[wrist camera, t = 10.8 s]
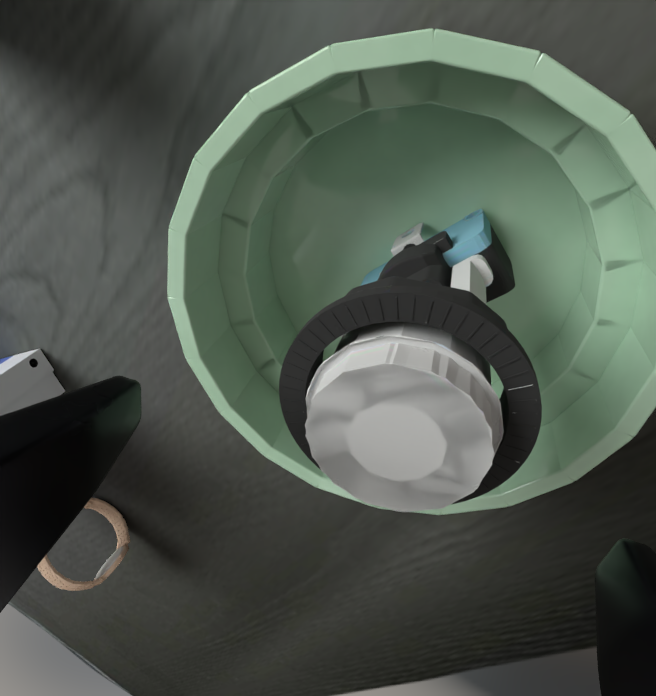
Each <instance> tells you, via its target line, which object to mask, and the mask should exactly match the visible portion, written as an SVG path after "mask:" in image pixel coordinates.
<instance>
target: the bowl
mask: <svg viewBox="0 0 656 696" xmlns="http://www.w3.org/2000/svg"><path fill="white" fill-rule="evenodd" d="M479 209H483V211H484V213H485V215H486V217H487V219H488V220H489V222H490V224H491V226H492V228H493V229H494V231H495V233H496V235H497V237H498V238H499V240H500V242H501V244H502V246H503V248H504V249H505V251H506V253H507V255H508V257H509V258H510V260H511V263H512V269H513V274H514V280H515V287H514V288H513V289H512V290H511V291H510V292H508V293H506V294H504V295H502V296H500V297H498V298H496V299H494V300H492V301H490V302H487V306H488V307H490V308H491V309H492V310H493V311H494V312H495V313H497V314H498V315H499V316H500V317H501V318H502V319H503V320H504V321H505V323H506V325H507V328H508V330H509V331H510V332H511V333H512V334H513V335H514V336H515V337H516V339H517V340H518V341H519V343H520V344H521V345H522V347H523V348H524V350H525V352H526V353H527V355H528V357H529V359H530V361H531V363H532V365H533V368H534V370H535V373H536V377H537V381H538V385H539V390H540V395H541V404H542V419H541V426H540V431H539V434H538V437H537V441H536V443H535V445H534V447H533V449H532V452H531V453H530V455H529V456H528V458H527V459H526V461H525V462H524V464H523V465H522V466H521V467H520V468H519V470H518V471H517V472H516V473H515V474H513V475H512V476H511V477H510V478H509V479H508V480H507V481H505V482H504V483H502V484H501V485H500V486H498V487H496V488H495V489H493V490H491V491H490V492H488V493H485V494H483V495H481V496H479V497H476V498H473V499H470V500H468V501H464V502H460V503H456V504H450V505H448V506H446V507H444V508H442V509H433V510H422V511H411V512H415V513H424V514H434V515H441V514H442V515H446V514H455V513H463V512H471V511H480V510H488V509H497V508H505V507H508V506H513V505H515V504H518V503H521V502H523V501H526V500H529V499H531V498H534V497H536V496H539V495H542V494H544V493H547V492H550V491H552V490H555V489H557V488H560V487H563V486H565V485H568V484H571V483H573V482H574V481H577V480H578V479H579V478H581V477H582V476H583V475H585V474H586V473H587V472H589V471H590V470H591V469H593V468H594V467H596V466H597V465H598V464H600V463H601V462H602V461H604V460H605V459H606V458H608V457H609V456H610V455H612V454H613V453H614V452H616V451H617V450H618V449H620V448H621V447H622V446H624V445H625V444H627V443H628V442H629V441H631V440H632V439H633V437H635V436H636V435H637V433H638V432H639V431H640V429H641V428H642V426H643V425H644V423H645V422H646V421H647V419H648V418H649V416H650V415H651V414H652V412H653V411H654V409H655V408H656V148H655V147H654V145H653V144H652V142H651V141H650V139H649V137H648V136H647V134H646V133H645V131H644V130H643V128H642V127H641V125H640V123H639V122H638V120H637V119H636V117H635V116H634V115H633V114H631V113H630V111H629V110H628V109H626V108H625V107H623V106H622V105H620V104H619V103H617V102H616V101H615V100H613V99H612V98H610V97H609V96H607V95H606V94H604V93H603V92H601V91H600V90H598V89H597V88H595V87H594V86H593V85H591V84H590V83H588V82H587V81H585V80H584V79H582V78H581V77H579V76H578V75H576V74H575V73H573V72H572V71H571V70H569V69H568V68H566V67H565V66H563V65H562V64H560V63H559V62H557V61H556V60H554V59H553V58H551V57H550V56H549V55H547V54H546V53H541V52H540V51H539V50H534V49H529V48H525V47H520V46H516V45H511V44H507V43H502V42H497V41H493V40H488V39H484V38H479V37H475V36H470V35H465V34H461V33H456V32H452V31H447V30H443V29H433V28H429V29H423V30H417V31H410V32H404V33H397V34H391V35H384V36H378V37H372V38H365V39H359V40H352V41H346V42H339V43H333V44H331V46H326V47H324V48H323V49H321V50H319V51H317V52H315V53H314V54H312V55H310V56H308V57H307V58H305V59H303V60H301V61H300V62H298V63H296V64H294V65H293V66H291V67H289V68H287V69H286V70H284V71H282V72H280V73H279V74H277V75H275V76H273V77H272V78H270V79H268V80H266V81H265V82H263V83H261V84H259V85H258V86H256V87H254V88H252V89H251V90H250V91H249V92H248V93H246V94H245V95H244V96H243V97H242V99H241V100H240V101H239V102H238V104H237V105H236V106H235V107H234V108H233V110H232V111H231V112H230V113H229V114H228V116H227V117H226V118H225V119H224V120H223V122H222V123H221V124H220V125H219V126H218V128H217V129H216V130H215V131H214V132H213V134H212V135H211V136H210V137H209V138H208V140H207V141H206V142H205V143H204V145H203V146H202V147H201V148H200V149H199V151H198V152H197V153H196V154H195V157H194V158H193V160H192V163H191V166H190V168H189V171H188V174H187V177H186V180H185V183H184V185H183V188H182V191H181V194H180V197H179V199H178V202H177V205H176V208H175V211H174V213H173V216H172V219H171V222H170V225H169V230H168V294H167V295H168V301H169V305H170V308H171V311H172V315H173V318H174V322H175V325H176V328H177V332H178V335H179V339H180V342H181V345H182V349H183V352H184V355H185V358H186V359H187V362H188V364H189V365H190V367H191V368H192V370H193V372H194V373H195V375H196V377H197V378H198V380H199V381H200V383H201V385H202V386H203V388H204V389H205V391H206V393H207V394H208V396H209V397H210V399H211V401H212V402H213V404H214V405H215V407H216V409H217V410H218V412H220V414H221V415H222V416H223V417H224V418H225V419H226V420H227V421H228V422H229V423H230V424H231V425H232V426H233V427H234V428H235V429H236V430H237V431H238V432H239V433H240V434H241V435H242V436H243V437H245V438H246V439H247V440H248V441H249V442H250V443H251V444H252V445H253V446H254V447H255V448H256V449H257V450H258V451H259V452H260V453H261V454H262V455H264V456H265V457H266V458H268V459H269V460H271V461H273V462H274V463H276V464H278V465H279V466H281V467H283V468H284V469H286V470H288V471H289V472H291V473H292V474H294V475H296V476H297V477H299V478H301V479H302V480H304V481H306V482H307V483H309V484H311V485H312V486H314V487H316V488H317V487H318V488H319V489H321V490H324V491H327V492H330V493H333V494H336V495H339V496H342V497H345V498H348V499H351V500H354V501H357V502H360V503H363V504H366V505H369V506H372V507H377V508H378V509H387V510H391V509H388V508H384V507H380V506H376V505H371V504H367V503H365V502H363V501H362V500H360V499H357V498H354V497H353V496H352V495H350V494H349V493H348V492H347V491H345V490H343V489H342V488H340V487H338V486H337V485H335V484H334V483H333V482H332V481H331V480H330V478H329V477H328V476H327V475H326V474H325V473H323V472H322V471H321V470H320V469H319V468H318V467H317V466H316V465H315V464H314V463H313V462H312V461H311V460H310V459H309V458H308V457H307V456H306V455H305V454H304V452H303V451H302V450H301V449H300V447H299V446H298V444H297V443H296V442H295V440H294V438H293V437H292V435H291V433H290V431H289V429H288V427H287V425H286V422H285V419H284V416H283V413H282V409H281V404H280V397H279V379H280V373H281V368H282V365H283V361H284V358H285V356H286V354H287V352H288V349H289V348H290V346H291V344H292V343H293V341H294V340H295V338H296V336H297V335H298V333H299V332H300V331H301V329H302V328H303V327H304V326H305V324H306V323H307V322H308V321H309V320H310V319H311V318H312V317H313V316H314V315H315V314H316V313H318V312H319V311H320V310H322V309H323V308H324V307H326V306H327V305H329V304H331V303H333V302H334V301H336V300H338V299H340V298H342V297H345V296H346V294H347V293H348V292H349V291H350V290H351V289H353V288H355V287H358V286H360V285H361V283H362V281H363V279H364V277H365V276H366V275H367V274H368V273H369V272H371V271H372V270H374V269H375V268H377V267H379V266H381V265H383V264H384V263H386V262H388V261H389V260H390V259H391V258H393V257H394V256H393V254H392V252H391V249H392V246H393V243H394V241H395V239H396V238H397V237H398V236H399V235H400V234H402V233H404V232H405V231H407V230H409V229H411V228H412V227H414V226H416V225H417V224H419V223H422V222H423V223H424V226H423V230H422V233H420V234H421V236H422V238H423V239H424V241H425V240H427V239H428V238H430V237H432V236H434V235H435V234H437V233H439V232H441V231H442V230H444V229H446V228H448V227H450V226H451V225H453V224H455V223H457V222H458V221H460V220H462V219H464V217H465V216H467V215H469V214H470V213H472V212H474V211H476V210H479ZM411 233H412V232H411ZM411 233H409V234H411ZM409 234H408V235H409ZM408 235H407V236H408ZM405 237H406V236H405ZM341 338H342V337H339V338H337V339H336V340H334V341H333V342H331V343H330V344H329V345H328V346H327V347H326V348H325V349H324V352H323V362H324V361H325V360H326V359H328V358H329V357H331V356H332V355H333V354H334V353H335V350H336V348H337V346H338V344H339V342H340V340H341ZM490 366H491V365H490ZM491 387H492V388H493V390H494V391H495V393H496V394H497V395H498V398H499V399H500V397H501V394H502V391H503V388H504V386H503V384H502V382H501V380H500V378H499V376H498V375H497V373H496V371H495V370H494V368H493V367H492V366H491Z"/></svg>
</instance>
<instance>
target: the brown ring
mask: <svg viewBox="0 0 656 696" xmlns="http://www.w3.org/2000/svg"><path fill="white" fill-rule="evenodd" d="M84 508H86V509H88V508H90V509H93V510H94V509H95V511H97V512H99V513H101V514H102V515H104V516H105V517H106V518H107V519H108V518H109V519H108V520H109V521H110V523H111V524H112V525H113V524H114V525H113V527H114V529H115V531H116V532H117V533H116V535H117V540H118V543H117V548H116V549H117V550H116V551H115V552H114V553H113V554H112V555H111V556H110V557H109V558H108V559H107V561H106V562H105V563H104V565H103V566H102V567H101V569H100V570H99V571H98V573H97V575H96V578H95V580H94V581H87V582H79V581H73V580H70V579H68V578H64V576H63V575H62V574H60V573H59V572H57V571H56V569H55V568H54V567H53V566H52V565H51V563H50V561H49V559H48V557H47V554H46V556H45V557H44V558H43V559H42V561H41V562H40V563H39V564H38V566H37V567H38V569H39V571H40V572H42V573H41V574H42V575H43V576H44V578H45V579H46V580H47V579H48V581H49V582H50V583H51V584H52V585H56V587H58V588H60V589H65V590H71V591H78V590H83V589H84V590H85V589H90V588H93V587H94V586H96V585H99V584H100V583H102V582H103V581H104V580H105V579H106V578H107V577H108V576H109V575H110V574H111V573H112V572H113V571H114V570H115V568H116V567H117V566H118V565H119V563H120V562H121V561H122V559H123V558H124V556H125V555H126V553H127V551H128V549H129V547H128V543H130V541H131V540H130V536H129V535H128V527H127V526H126V525H127V524H126V522H125V519H124V518H122V517H123V516H122V515H121V514H120V512H119V511H118V512H116V511H117V509H116V508H114V507H113V506H111V505H110V504H108V503H107V502H105V501H102V500H100V499H97V498H91V499H90V500H89V501H88V502H87V504H86V505H85V506H84Z"/></svg>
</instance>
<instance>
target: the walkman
mask: <svg viewBox="0 0 656 696" xmlns="http://www.w3.org/2000/svg"><path fill="white" fill-rule="evenodd" d="M52 371H54V369H53V368H52V366H51V365H50V363H49V362H48V360H47V359H46V357H45V356H44V354H43V353H42V351H41V350H40V349H36V350H32V351H28V352H25V353H21V354H17V355H14V356H10V357H6V358H2V359H0V416H1V415H4V414H7V413H10V412H13V411H16V410H19V409H22V408H25V407H28V406H31V405H33V404H36V403H39V402H42V401H45V400H48V399H51V398H54V397H57V396H60V395H61V394H62V393H64V392H65V390H64V388H63V387H62V385H61V384H60V382H59V381H58V379H57V378H56V376H55V375H54V374H53V372H52Z"/></svg>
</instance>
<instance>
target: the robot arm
mask: <svg viewBox="0 0 656 696" xmlns="http://www.w3.org/2000/svg"><path fill="white" fill-rule="evenodd" d="M140 419H141V387H140V384H139V382H137V381H136V380H133V379H129V378H126V377H123V376H115V377H112V378H109V379H106V380H103V381H100V382H97V383H95V384H92V385H89V386H86V387H83V388H80V389H77V390H74V391H71V392H68V393H65V394H63V395H60V396H57V397H54V398H51V399H48V400H45V401H42V402H39V403H36V404H33V405H31V406H28V407H25V408H22V409H19V410H16V411H13V412H10V413H7V414H4V415H1V416H0V612H1V611H2V610H3V609H4V607H5V606H6V605H7V604H8V602H9V601H10V600H11V599H12V597H13V596H14V595H15V594H16V592H17V591H18V590H19V588H20V587H21V586H22V585H23V583H24V582H25V581H26V580H27V578H28V577H29V576H30V575H31V573H32V572H33V571H34V569H35V568H36V567H37V566H38V564H39V563H40V562H41V561H42V559H43V558H44V557H45V556H46V554H47V553H48V552H49V551H50V549H51V548H52V547H53V545H54V544H55V543H56V542H57V540H58V539H59V538H60V537H61V535H62V534H63V533H64V532H65V530H66V529H67V528H68V526H69V525H70V524H71V523H72V521H73V520H74V519H75V518H76V516H77V515H78V514H79V513H80V511H81V510H82V509H83V508H84V506H85V505H86V504H87V502H88V501H89V500H90V499H91V497H92V496H93V495H94V493H95V492H96V491H97V489H98V488H99V486H100V485H101V483H102V482H103V480H104V478H105V477H106V475H107V474H108V472H109V471H110V469H111V467H112V466H113V464H114V463H115V461H116V459H117V458H118V456H119V455H120V453H121V451H122V450H123V448H124V447H125V445H126V443H127V442H128V440H129V439H130V437H131V436H132V434H133V432H134V431H135V429H136V428H137V426H138V424H139V422H140ZM595 600H596V633H597V660H598V672H599V681H600V689H601V695H602V696H656V554H655V552H654V551H653V550H652V549H651V548H650V547H648V546H647V545H644V544H641V543H638V542H635V541H632V540H629V539H621V540H619V541H618V542H617V543H616V544H615V545H614V546H613V548H612V549H611V550H610V551H609V553H608V554H607V555H606V556H605V558H604V559H603V560H602V561H601V563H600V564H599V565H598V567H597V570H596V573H595Z"/></svg>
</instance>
